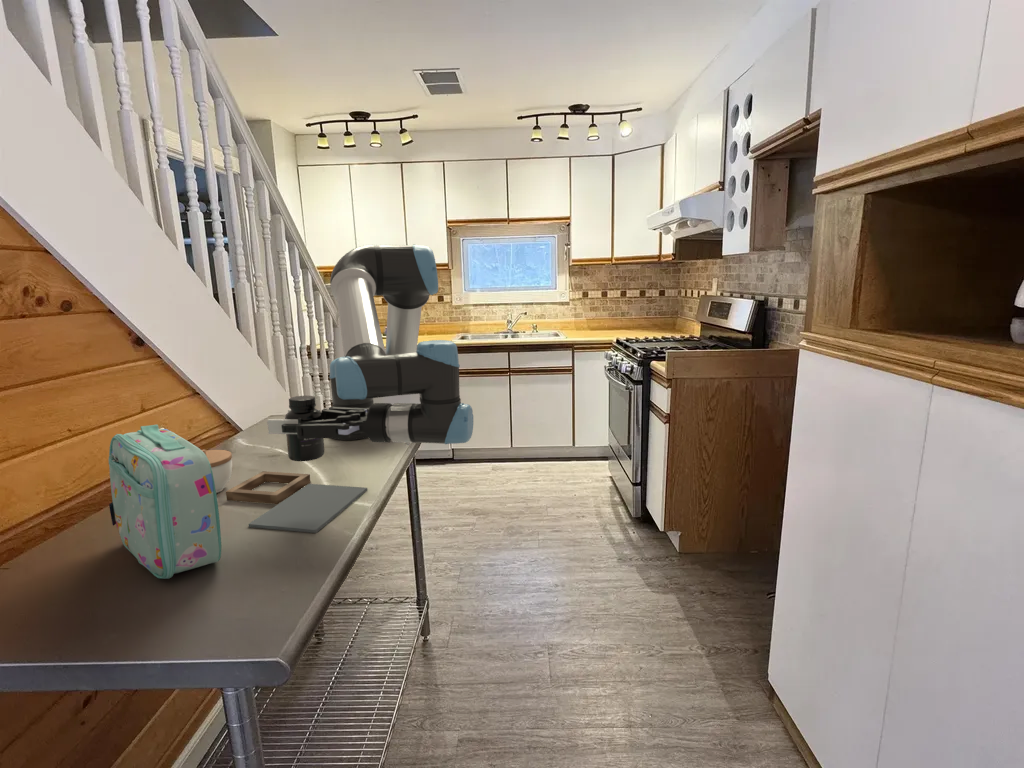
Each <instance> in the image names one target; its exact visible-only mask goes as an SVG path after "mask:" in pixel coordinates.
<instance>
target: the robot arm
mask: <svg viewBox="0 0 1024 768" xmlns="http://www.w3.org/2000/svg"><path fill="white" fill-rule="evenodd" d="M436 264H437V263H436V259H435V255H434V251H433V250H432V248H431V247H430V246H428V245H419V244H418V245H417V244H384V245H383V244H379V245H377V244H376V245H375V244H365V245H361V246H360V245H359V246H357V247H355V248H352V249H351V250H349V251H348V252H346V253H345V254H344V255H343V256H342V257H340V259H339V260H338V261H337V262H336V264H335V265H334V267H333V269H332V271H331V274H330V280H329V283H330V284H329V285H330V291H331V295H332V296H333V298H334V299H335V300H336V301H337V309H338V317H339V325H340V334H341V342H342V350H343V356H340V357H337V358H335V359H334V360H332V361H331V362H330V364H329V379H330V386H331V399H332V400H331V401H332V406H330V407H328V408H323V409H318V410H319V411H320V412H321V414H322V420H313V421H302V417H301V418H298V419H285V418H283V419H282V418H268V419H266V423H267V431H268V435H286V434H297V436H298V438H300V439H302V438H324V439H333V440H339V441H355V440H361V439H362V440H363V439H369V440H370V441H371V442H372V443H390V442H393V443H404V444H405V445H406V446H410V445H411V444H412V443H414V444H415V443H419V444H420V443H421V444H444V445H449V444H450V445H452V444H453V445H455V444H456V445H457V444H466V443H467V442H469V441H470V440H471V438H472V436H473V430H474V414H473V413H474V412H473V408H472V406H471V405H470V404H468V403H464V402H462V398H461V396H460V361H459V351H458V346H457V344H456V343H455V342H454V341H451V340H446V339H445V340H444V339H439V340H437V339H435V340H434V339H432V340H423V341H420V342H418V341H419V331H420V327H421V326H420V324H421V318H422V307H424V306H425V305H426V304H427V303H428V301H429V298H430V296H433V295H436V294H437V293H438V292H439V278H438V277H439V276H438V269H437V265H436ZM375 296H377V297H378V296H380V297H381V296H382V297H383V299H384V300H385V302H386V303H387V317H386V318H387V319H386V334H385V335H386V336H385V337H386V338H385V343H384V340H383V335H382V331H381V330H382V329H381V325H380V321H379V317H378V312H377V306H376V301H375V298H374V297H375ZM407 395H419V402H420V403H414V402H411V403H410V402H394V403H393V404H392V403H390V402H388V403H387V402H374V399H376V398H377V399H378V398H386V397H387V398H388V397H397V396H407ZM289 411H291V409H290V408H289V409H288V410H287V413H288V412H289Z"/></svg>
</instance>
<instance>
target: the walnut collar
mask: <svg viewBox="0 0 1024 768" xmlns="http://www.w3.org/2000/svg"><path fill="white" fill-rule="evenodd" d="M264 482H265V483H270V482H279V483H278V484H284V483H288V484H285V485H284V486H282V487H280V488H279V489H278V490H276V491H267V490H266V491H264V490H255V489H256V488H258V487H260V486H262V485H263V484H265V483H264ZM311 482H312V481H311V474H310V473H296V472H295V473H294V472H281V471H280V472H279V471H267V470H266V471H263V470H262V471H261V472H259V473H256V474H255V475H254V476H251V477H250V478H248V479H246V480H244V481H242V482H241V483H239V484H237V485H235V486H233V487H232V488H229V489H227V490H226V491H225V496H226V501H230V502H240V501H242V502H243V503H255V504H265V505H266V504H267V505H268V504H269V505H278V504H279V503H281V502H282V501H284V500H285V499H287V498H288V497H290V496H291V495H292V494H294V493H295V492H297V491H298V490H301V488H304V486H307V485H308V484H312V483H311ZM261 484H262V485H261ZM259 485H260V486H259ZM254 488H255V489H254ZM252 489H253V490H252ZM242 502H241V503H242Z"/></svg>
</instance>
